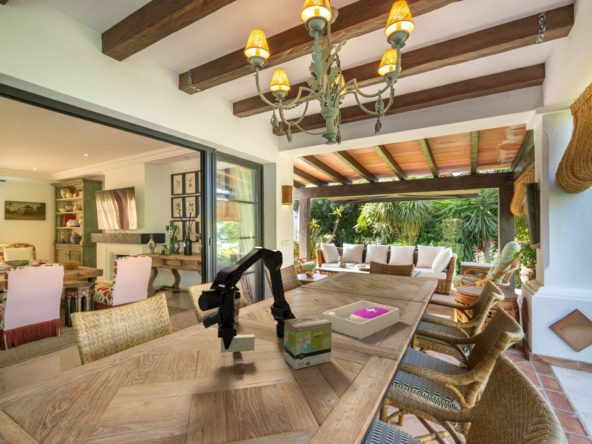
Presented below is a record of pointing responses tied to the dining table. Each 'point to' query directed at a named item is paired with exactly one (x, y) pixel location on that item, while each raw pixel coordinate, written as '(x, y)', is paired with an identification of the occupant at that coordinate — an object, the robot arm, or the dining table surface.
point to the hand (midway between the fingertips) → (226, 347)
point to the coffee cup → (237, 306)
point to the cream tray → (362, 318)
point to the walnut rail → (238, 362)
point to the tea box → (307, 341)
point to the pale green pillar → (240, 343)
